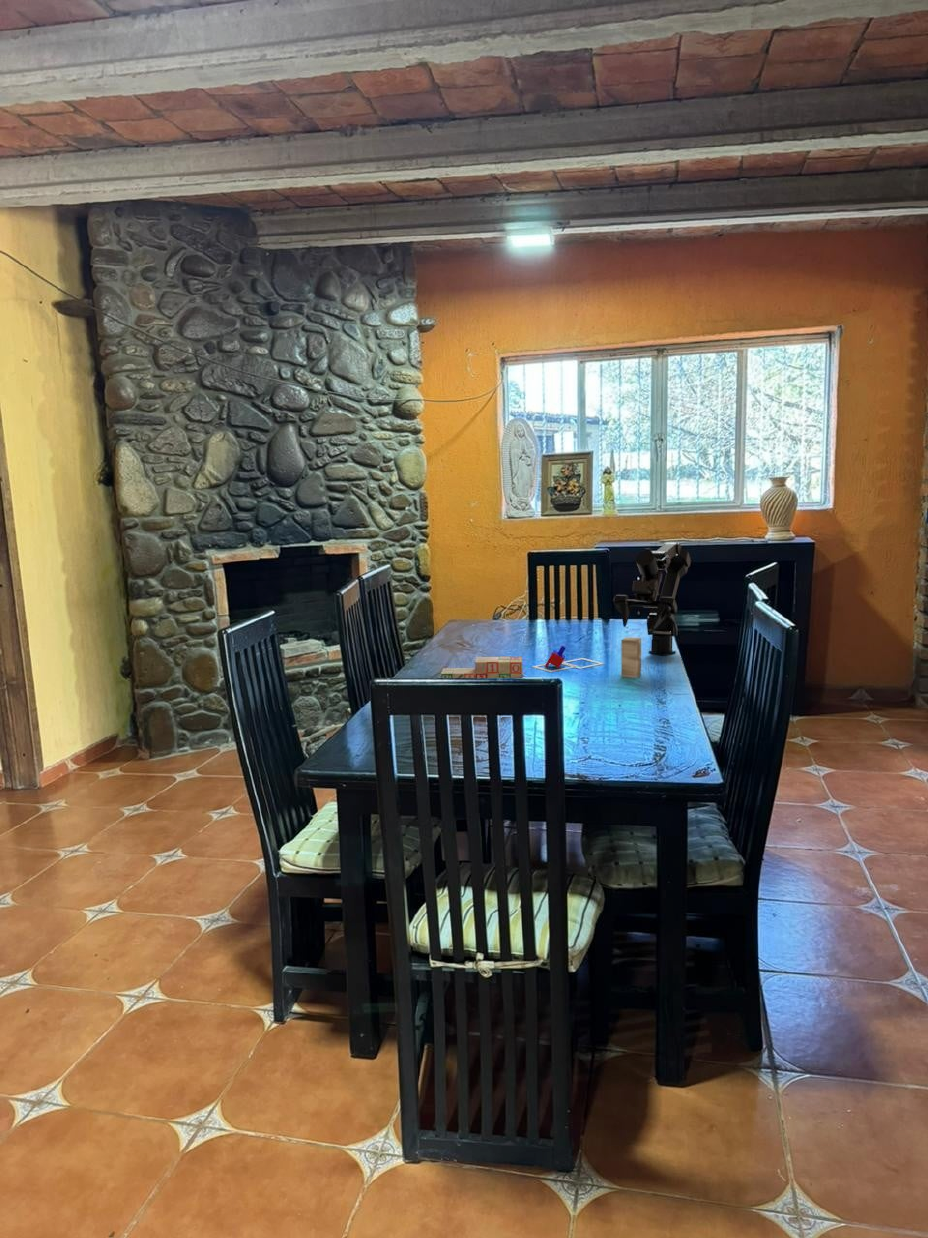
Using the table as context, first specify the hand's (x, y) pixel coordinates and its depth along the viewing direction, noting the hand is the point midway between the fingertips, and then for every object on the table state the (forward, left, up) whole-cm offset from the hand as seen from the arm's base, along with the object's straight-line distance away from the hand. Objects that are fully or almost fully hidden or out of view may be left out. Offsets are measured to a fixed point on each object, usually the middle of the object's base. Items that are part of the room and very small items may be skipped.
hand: (638, 627), depth 243 cm
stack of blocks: (+58, 0, -14) cm, 59 cm away
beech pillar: (+7, +4, -13) cm, 15 cm away
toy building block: (+17, -19, -13) cm, 29 cm away
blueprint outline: (+13, -18, -13) cm, 26 cm away
